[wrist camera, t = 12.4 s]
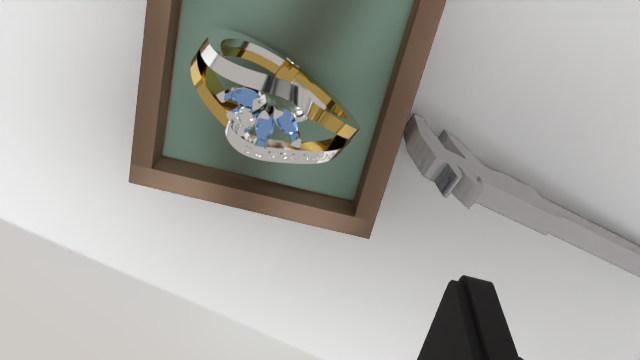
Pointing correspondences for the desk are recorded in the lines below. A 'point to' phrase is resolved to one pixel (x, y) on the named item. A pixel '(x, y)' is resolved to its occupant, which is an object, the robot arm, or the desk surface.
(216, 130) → the jewellery tray
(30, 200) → the desk surface
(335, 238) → the desk surface
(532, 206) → the caliper
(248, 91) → the ring
